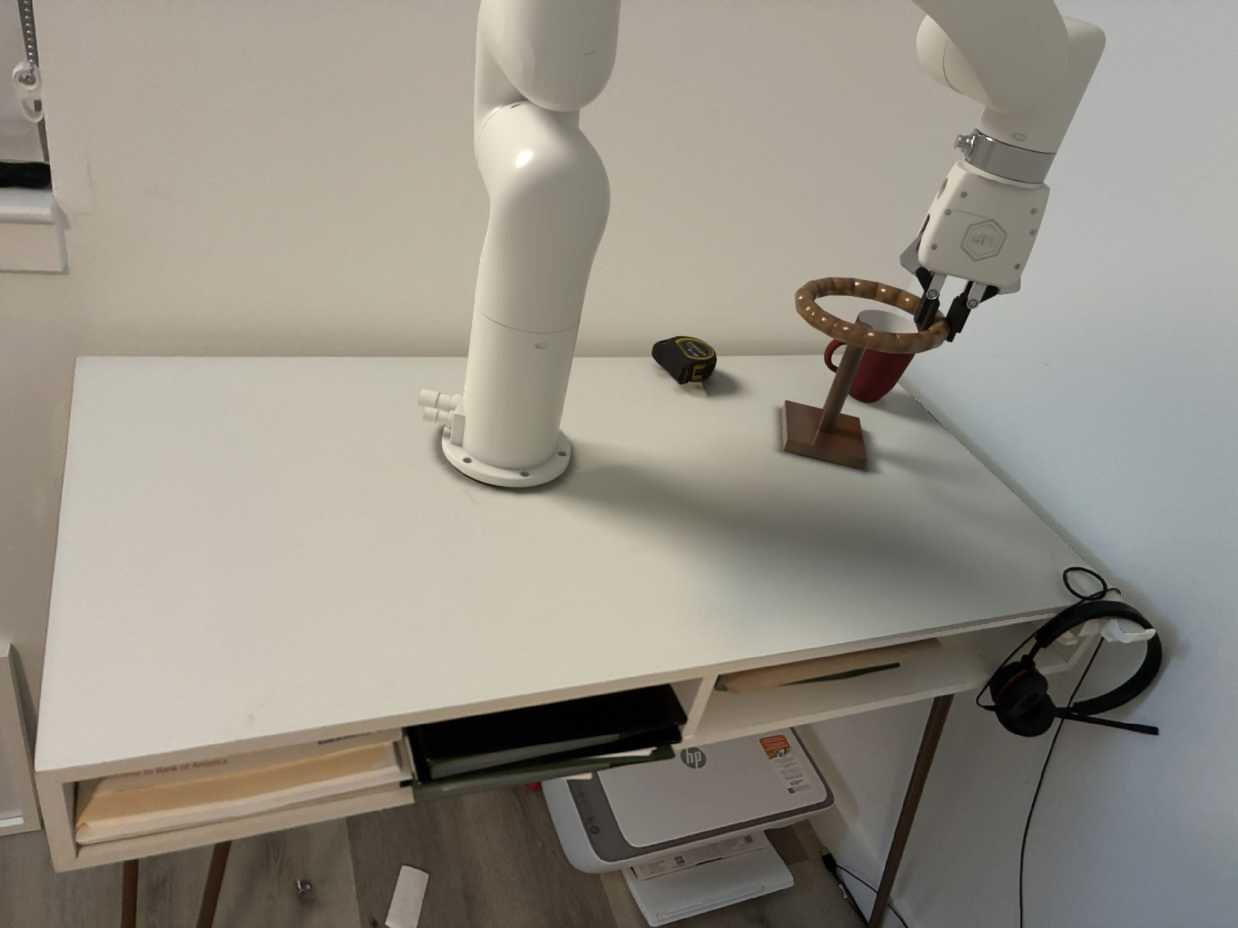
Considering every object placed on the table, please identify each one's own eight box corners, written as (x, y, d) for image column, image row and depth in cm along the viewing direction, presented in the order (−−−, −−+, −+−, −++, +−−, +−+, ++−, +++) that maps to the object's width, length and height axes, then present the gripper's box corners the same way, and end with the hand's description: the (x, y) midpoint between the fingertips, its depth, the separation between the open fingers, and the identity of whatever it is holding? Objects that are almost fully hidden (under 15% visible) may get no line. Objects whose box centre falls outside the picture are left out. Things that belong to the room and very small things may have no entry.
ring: (796, 340, 90) (801, 321, 89) (790, 281, 104) (794, 265, 102) (958, 368, 90) (965, 350, 89) (931, 306, 103) (936, 289, 102)
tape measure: (646, 362, 112) (652, 335, 110) (692, 358, 115) (699, 331, 113) (674, 391, 107) (681, 364, 105) (721, 386, 110) (729, 359, 108)
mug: (824, 407, 111) (852, 334, 106) (804, 374, 118) (829, 303, 112) (903, 415, 114) (934, 344, 108) (879, 382, 120) (907, 313, 115)
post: (783, 450, 101) (825, 334, 93) (781, 410, 109) (820, 299, 101) (862, 469, 101) (911, 354, 93) (855, 427, 109) (900, 318, 101)
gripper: (931, 150, 83) (862, 331, 93) (1103, 191, 83) (1015, 367, 93) (919, 130, 89) (856, 302, 99) (1079, 168, 89) (999, 335, 100)
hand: (933, 332), depth 96 cm, fingers closed on ring, 2 cm apart
